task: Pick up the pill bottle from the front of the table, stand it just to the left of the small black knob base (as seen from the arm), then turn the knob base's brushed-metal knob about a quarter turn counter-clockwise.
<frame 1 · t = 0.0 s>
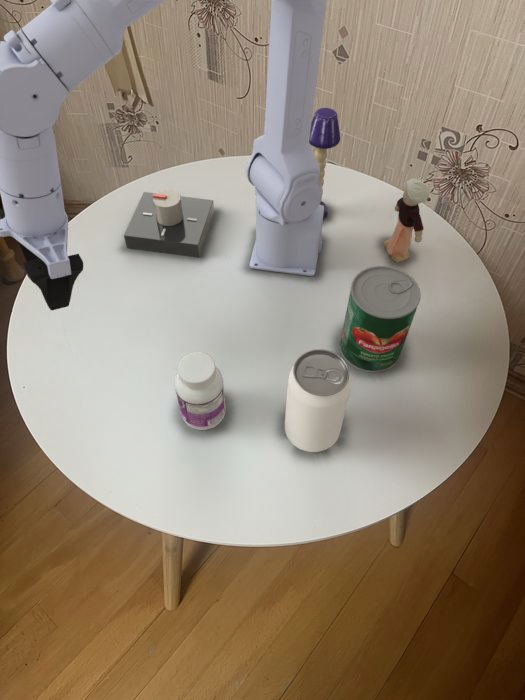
hand: (48, 284, 65), 11 cm above the table, tool pointing down, fingers open, 7 cm apart
can: (311, 429, 66), on the table
toy lamp: (315, 212, 89), on the table
canned tomato: (369, 348, 73), on the table
pill bottle: (203, 412, 67), on the table
knob base: (171, 230, 86), on the table
grandmother figurine: (397, 254, 83), on the table
hob knob: (168, 206, 82), point 4 cm above the table, hinge at 0.0°
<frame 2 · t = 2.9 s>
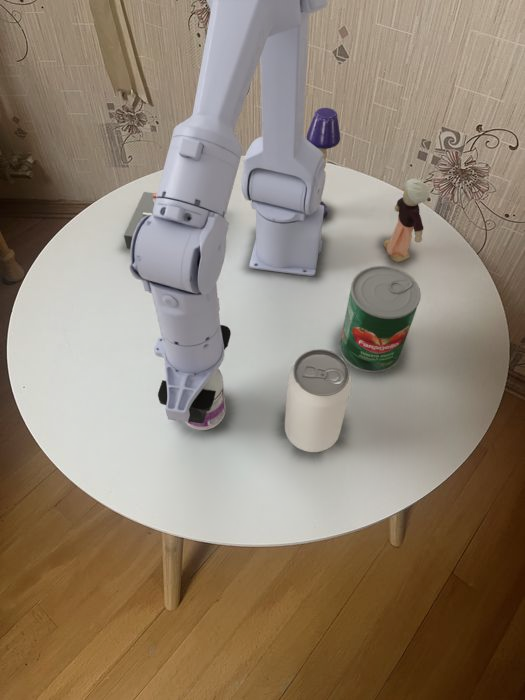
hand: (201, 396, 65), 3 cm above the table, tool pointing down, fingers closed on pill bottle, 5 cm apart
pill bottle: (203, 412, 67), on the table, touching gripper
everything else where it was.
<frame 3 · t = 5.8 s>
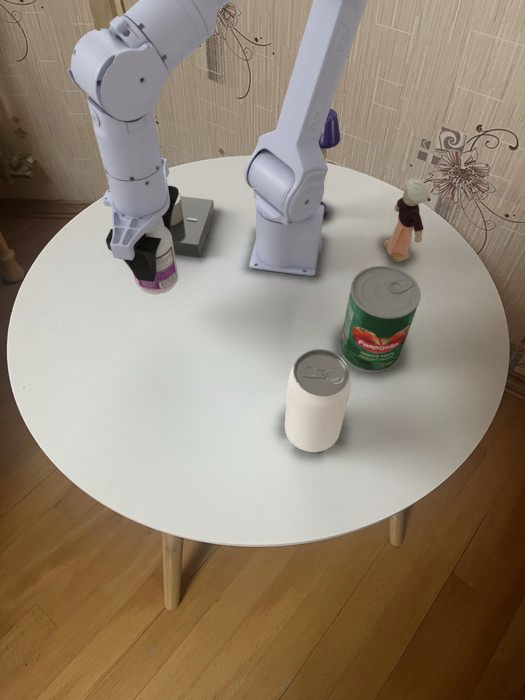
hand: (153, 260, 68), 10 cm above the table, tool pointing down, fingers closed on pill bottle, 5 cm apart
pill bottle: (157, 281, 70), point 7 cm above the table, touching gripper
everything else where it was.
when the fingers open (3 cm above the table, at t = 9.0 s): pill bottle stays where it is, on the table.
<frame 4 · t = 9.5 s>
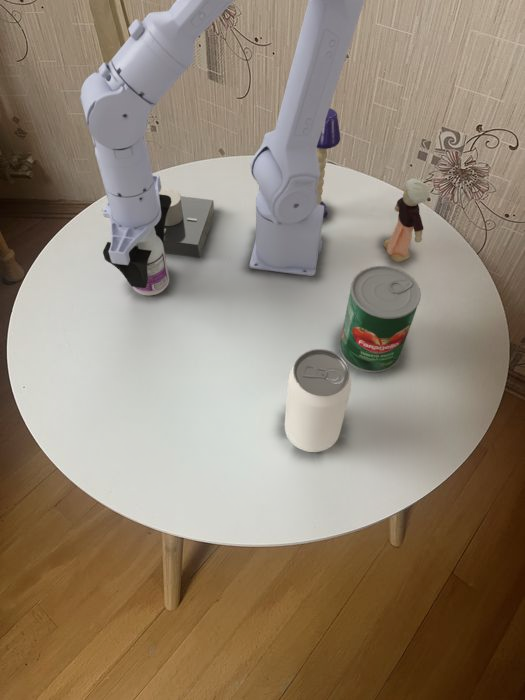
hand: (147, 264, 77), 4 cm above the table, tool pointing down, fingers open, 7 cm apart
pill bottle: (150, 283, 80), on the table
everything else where it was.
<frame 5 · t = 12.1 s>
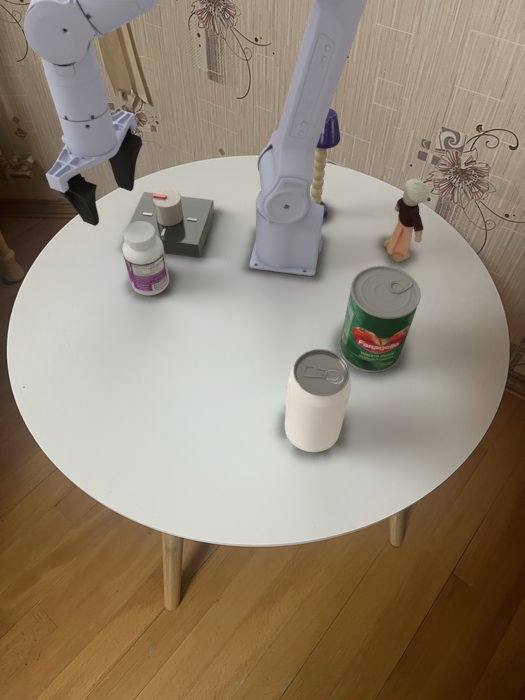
hand: (109, 204, 74), 10 cm above the table, tool pointing down, fingers open, 7 cm apart
nothing on the table moved.
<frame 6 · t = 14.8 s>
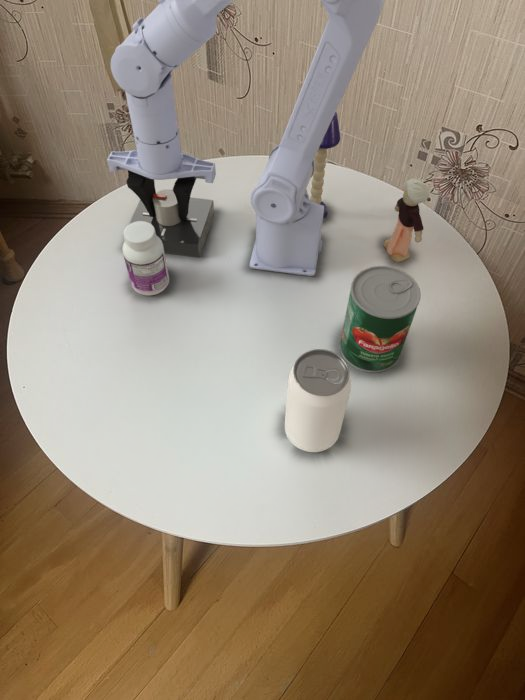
hand: (169, 214, 83), 3 cm above the table, tool pointing down, fingers closed on hob knob, 4 cm apart
hob knob: (168, 206, 82), point 4 cm above the table, hinge at 0.0°, touching gripper
everything else where it was.
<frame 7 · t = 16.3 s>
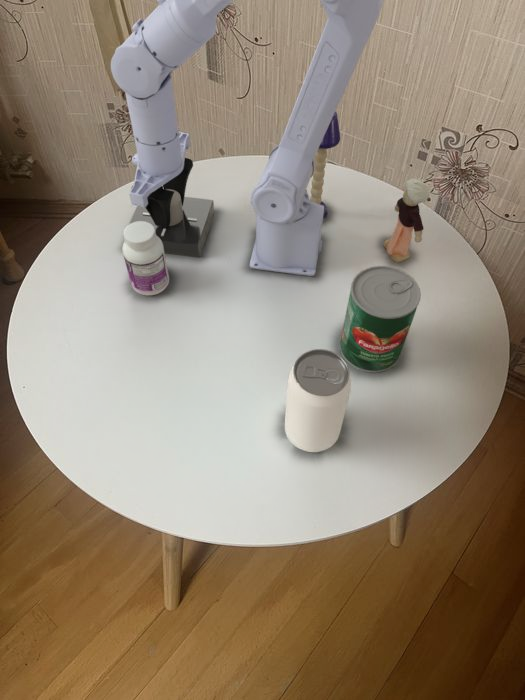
hand: (169, 215, 84), 3 cm above the table, tool pointing down, fingers closed on hob knob, 4 cm apart
hob knob: (168, 206, 82), point 4 cm above the table, hinge at 81.1°, touching gripper
everything else where it was.
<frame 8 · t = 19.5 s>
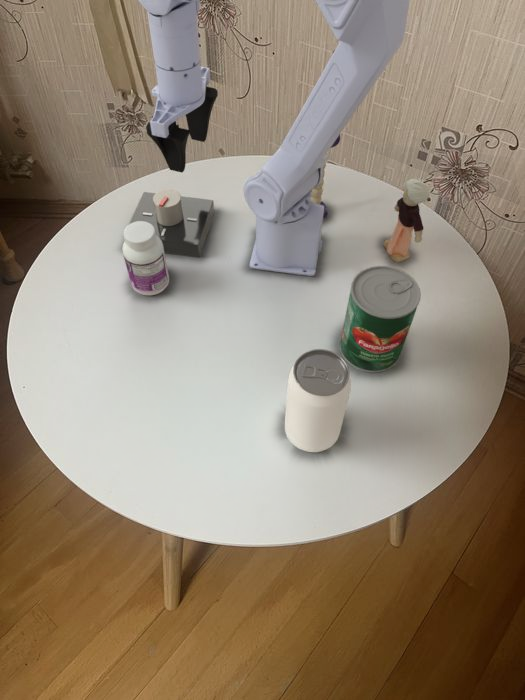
hand: (188, 154, 82), 9 cm above the table, tool pointing down, fingers open, 7 cm apart
hob knob: (168, 206, 82), point 4 cm above the table, hinge at 80.8°
everything else where it was.
at the end: pill bottle inside the target area on the table beside the knob base (0.1 cm from its centre), on the table; pill bottle tilted 0°; hob knob at +81° (first picture: +0°) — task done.
